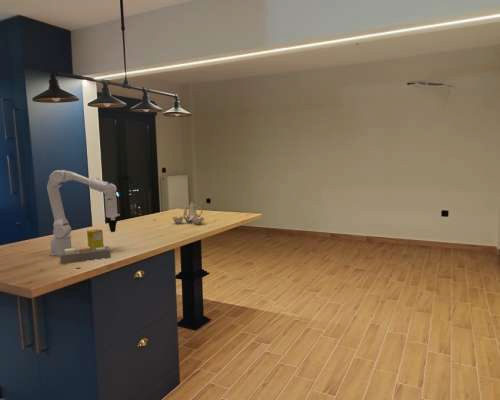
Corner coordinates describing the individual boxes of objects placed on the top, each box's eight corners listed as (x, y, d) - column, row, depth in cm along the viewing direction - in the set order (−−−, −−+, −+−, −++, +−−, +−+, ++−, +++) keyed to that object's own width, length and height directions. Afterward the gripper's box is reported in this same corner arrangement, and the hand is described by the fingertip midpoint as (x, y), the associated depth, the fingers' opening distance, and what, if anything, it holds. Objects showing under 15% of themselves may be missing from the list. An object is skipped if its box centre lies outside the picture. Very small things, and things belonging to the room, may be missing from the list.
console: (61, 259, 189) (61, 250, 189) (108, 253, 198) (108, 245, 198) (61, 264, 180) (60, 255, 180) (110, 257, 189) (109, 249, 188)
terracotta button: (80, 253, 190) (80, 247, 190) (90, 252, 192) (89, 246, 191) (80, 255, 186) (80, 249, 186) (90, 254, 188) (90, 248, 187)
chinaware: (169, 227, 284) (166, 205, 281) (179, 221, 299) (177, 200, 296) (203, 228, 275) (201, 205, 272) (212, 222, 291) (210, 200, 287)
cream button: (65, 255, 187) (64, 249, 187) (75, 253, 189) (74, 248, 188) (64, 257, 183) (64, 250, 183) (75, 255, 185) (74, 249, 184)
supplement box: (98, 248, 212) (97, 228, 211) (104, 249, 208) (102, 229, 207) (88, 250, 207) (86, 230, 206) (93, 251, 204) (92, 231, 202)
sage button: (96, 253, 193) (95, 248, 192) (105, 252, 195) (104, 247, 194) (96, 255, 189) (96, 249, 188) (105, 254, 191) (105, 248, 190)
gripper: (120, 207, 196) (122, 233, 197) (117, 204, 209) (119, 229, 211) (105, 208, 193) (107, 234, 195) (104, 205, 206) (105, 230, 208)
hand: (112, 231), depth 202 cm, fingers closed
